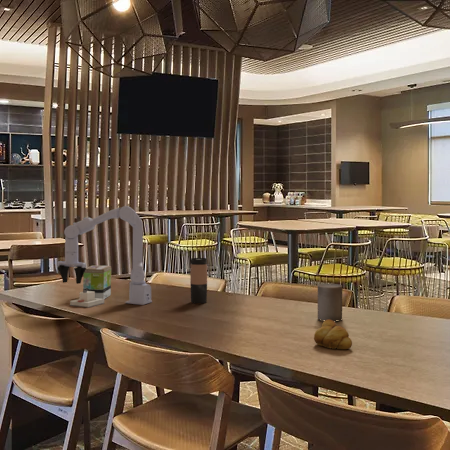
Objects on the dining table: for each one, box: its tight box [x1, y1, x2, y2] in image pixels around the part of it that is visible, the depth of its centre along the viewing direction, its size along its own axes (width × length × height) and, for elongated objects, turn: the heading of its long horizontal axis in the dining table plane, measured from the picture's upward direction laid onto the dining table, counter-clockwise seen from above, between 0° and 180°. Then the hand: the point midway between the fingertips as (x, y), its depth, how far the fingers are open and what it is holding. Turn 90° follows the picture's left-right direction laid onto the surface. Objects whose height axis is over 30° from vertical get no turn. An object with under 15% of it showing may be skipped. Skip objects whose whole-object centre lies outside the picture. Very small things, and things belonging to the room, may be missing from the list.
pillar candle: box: [317, 282, 343, 321], centre depth 222 cm, size 10×10×15 cm
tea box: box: [82, 265, 112, 300], centre depth 267 cm, size 15×10×15 cm
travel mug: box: [189, 257, 208, 304], centre depth 257 cm, size 8×8×20 cm
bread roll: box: [313, 319, 353, 350], centre depth 182 cm, size 13×10×8 cm
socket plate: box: [69, 298, 105, 309], centre depth 250 cm, size 10×11×3 cm
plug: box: [79, 290, 95, 302], centre depth 249 cm, size 4×5×6 cm
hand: (71, 282), depth 250 cm, fingers open, 7 cm apart
